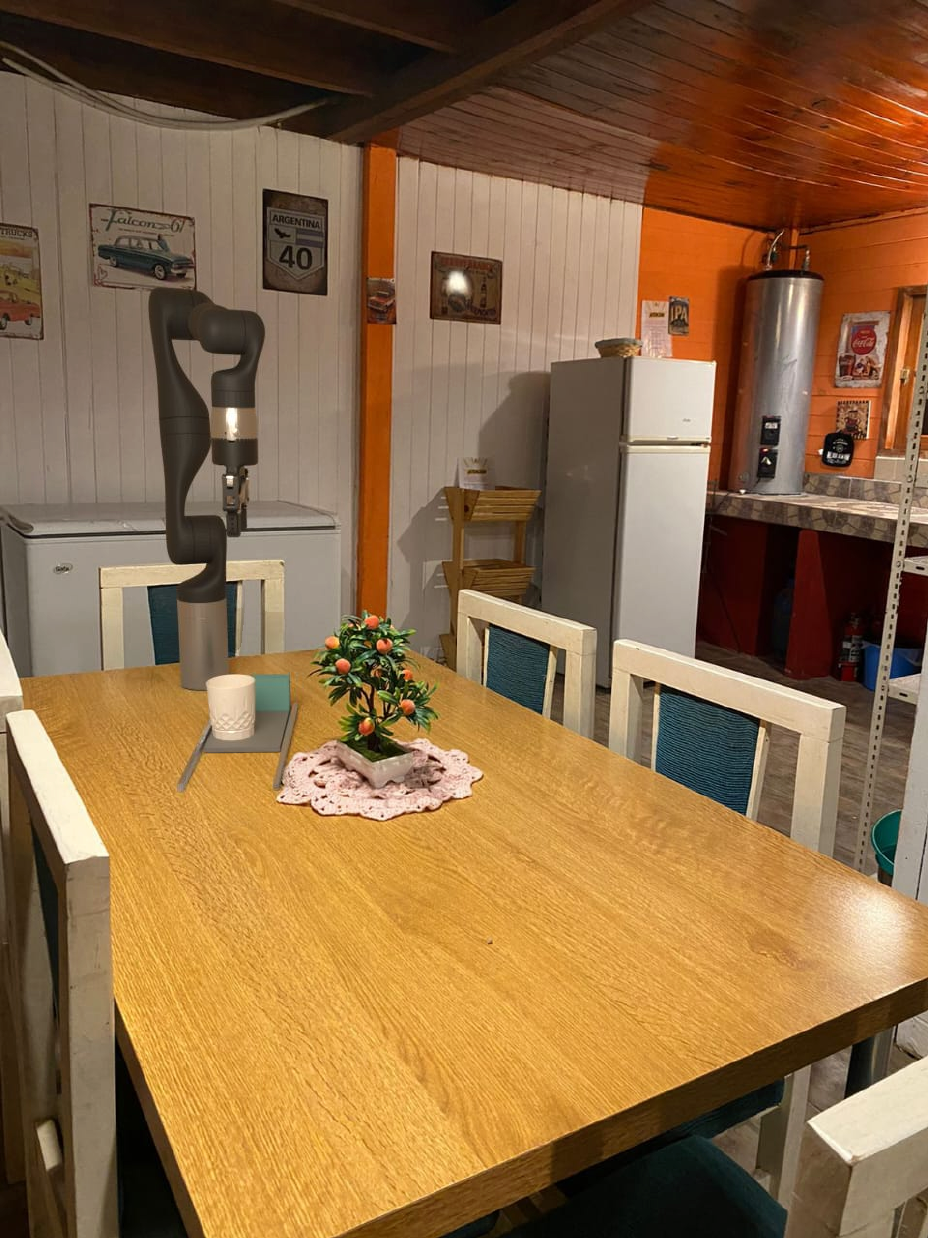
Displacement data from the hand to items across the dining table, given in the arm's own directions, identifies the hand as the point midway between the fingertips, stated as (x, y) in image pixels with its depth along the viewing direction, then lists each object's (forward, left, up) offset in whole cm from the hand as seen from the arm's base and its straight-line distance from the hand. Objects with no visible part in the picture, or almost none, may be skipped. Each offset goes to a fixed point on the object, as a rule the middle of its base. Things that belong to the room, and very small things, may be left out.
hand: (237, 533), depth 165 cm
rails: (+13, +2, -33) cm, 36 cm away
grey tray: (+5, +2, -33) cm, 34 cm away
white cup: (+10, 0, -33) cm, 35 cm away
